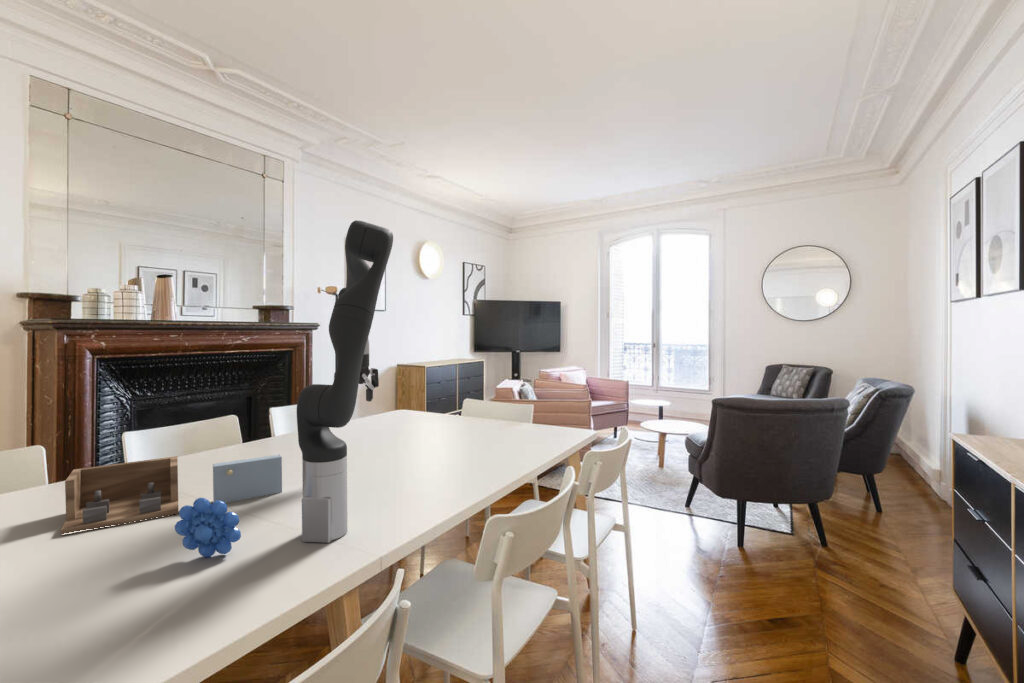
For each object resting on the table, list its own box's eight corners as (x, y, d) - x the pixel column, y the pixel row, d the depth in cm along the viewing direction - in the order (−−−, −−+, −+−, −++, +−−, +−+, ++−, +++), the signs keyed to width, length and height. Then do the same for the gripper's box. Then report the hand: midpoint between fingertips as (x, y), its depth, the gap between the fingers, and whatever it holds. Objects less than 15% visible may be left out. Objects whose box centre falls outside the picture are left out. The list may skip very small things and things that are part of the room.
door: (282, 493, 131) (282, 457, 130) (214, 506, 122) (213, 467, 121) (280, 489, 134) (279, 454, 134) (213, 501, 125) (212, 463, 124)
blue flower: (165, 571, 89) (164, 508, 89) (180, 554, 96) (179, 495, 95) (234, 563, 92) (233, 502, 92) (244, 547, 98) (244, 490, 98)
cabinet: (178, 514, 116) (177, 471, 115) (61, 536, 104) (59, 488, 103) (178, 494, 130) (177, 456, 129) (74, 511, 117) (73, 469, 117)
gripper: (341, 355, 140) (341, 409, 141) (383, 351, 150) (383, 401, 152) (329, 352, 144) (329, 404, 146) (370, 349, 155) (370, 397, 157)
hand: (356, 403), depth 149 cm, fingers open, 8 cm apart
